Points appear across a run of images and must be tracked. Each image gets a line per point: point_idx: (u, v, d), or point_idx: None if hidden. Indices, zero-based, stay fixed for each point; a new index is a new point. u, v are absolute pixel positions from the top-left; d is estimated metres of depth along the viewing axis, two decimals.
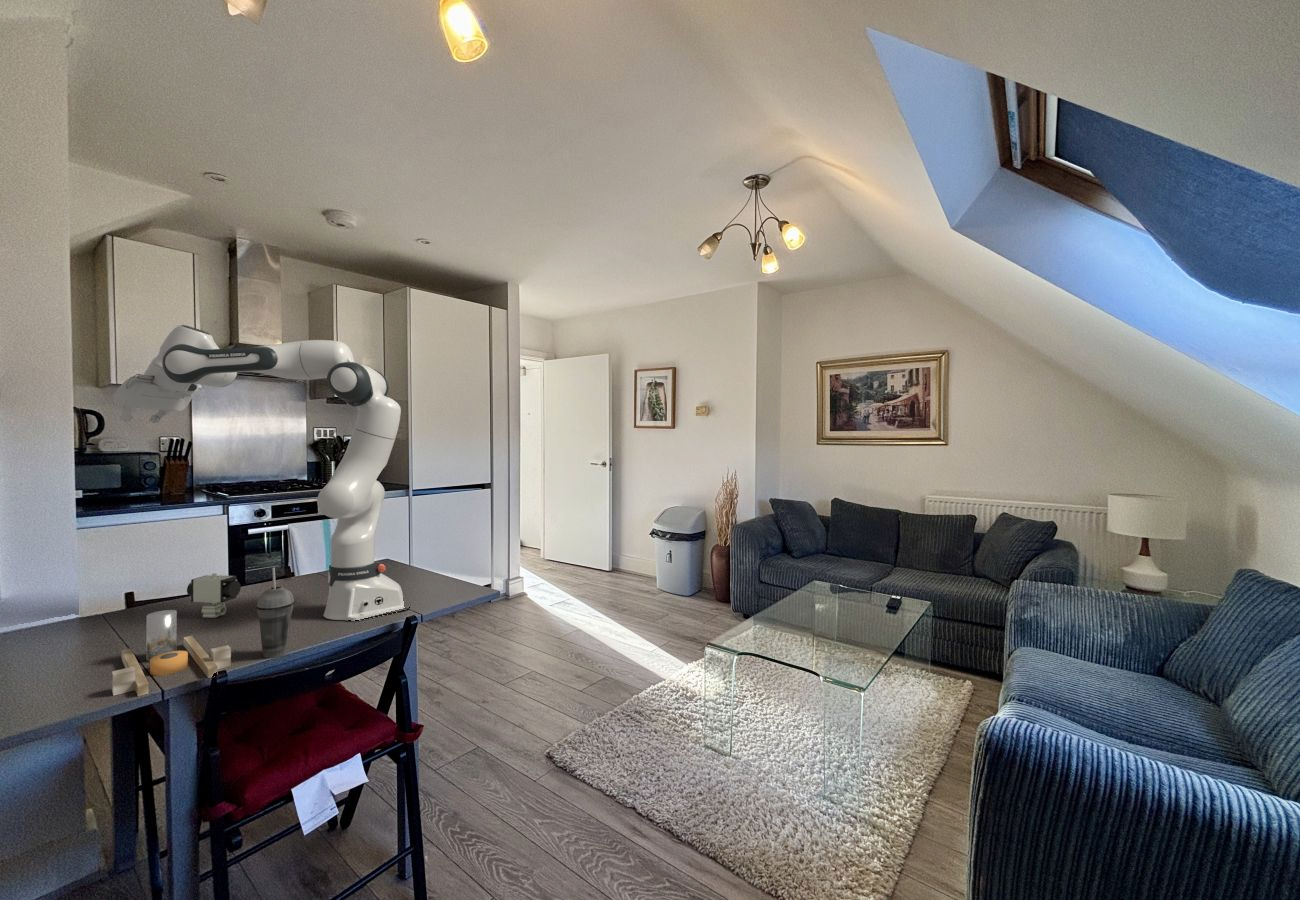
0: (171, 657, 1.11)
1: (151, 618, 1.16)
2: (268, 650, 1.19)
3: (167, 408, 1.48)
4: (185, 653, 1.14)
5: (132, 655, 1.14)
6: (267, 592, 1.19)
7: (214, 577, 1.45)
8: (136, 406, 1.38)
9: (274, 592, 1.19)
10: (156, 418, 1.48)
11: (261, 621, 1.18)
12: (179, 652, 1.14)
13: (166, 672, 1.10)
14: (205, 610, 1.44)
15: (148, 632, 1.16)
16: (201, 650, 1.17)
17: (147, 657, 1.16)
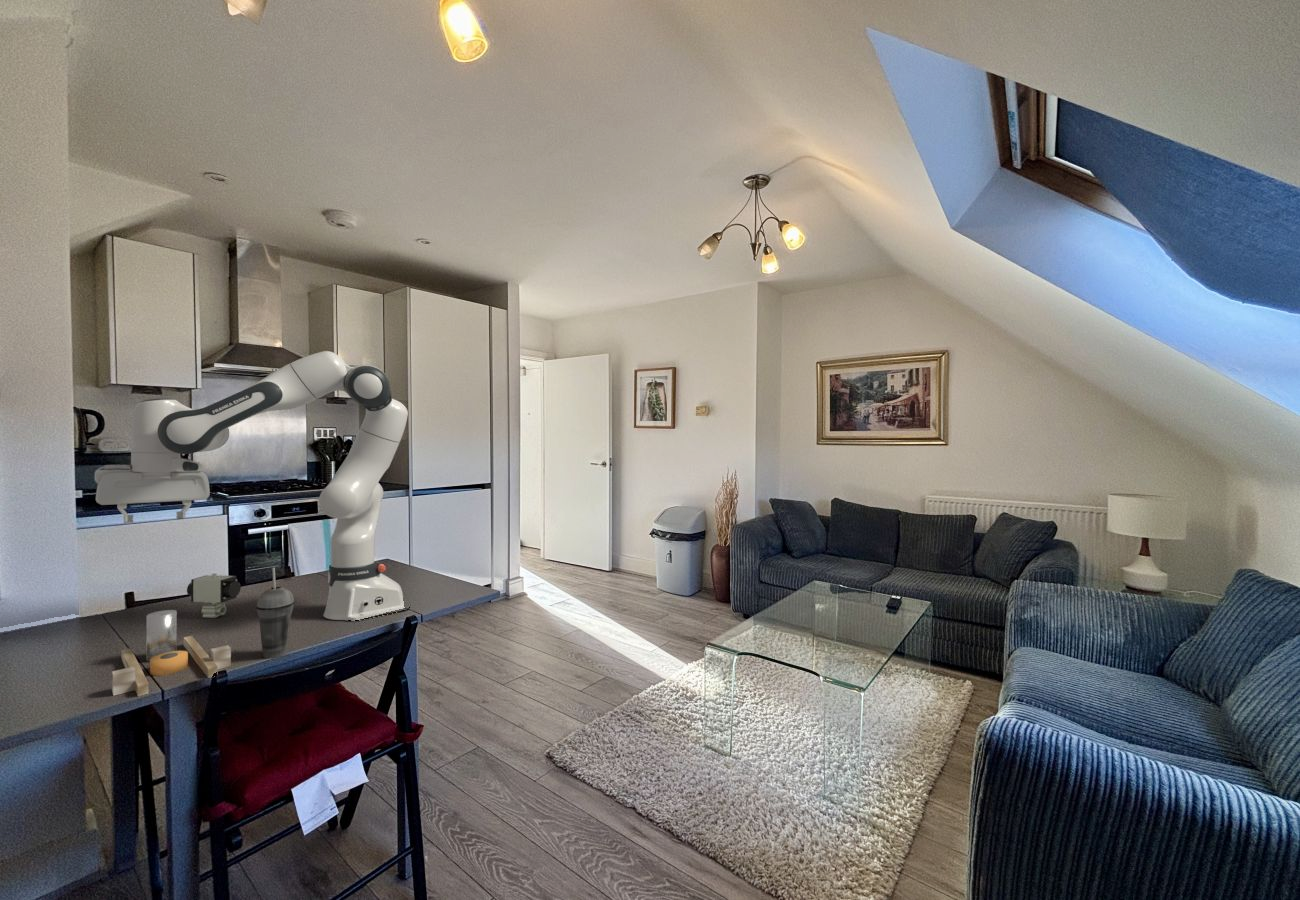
0: (171, 657, 1.11)
1: (151, 618, 1.16)
2: (268, 650, 1.19)
3: (177, 498, 1.30)
4: (185, 653, 1.14)
5: (132, 655, 1.14)
6: (267, 592, 1.19)
7: (214, 577, 1.45)
8: (120, 501, 1.22)
9: (274, 592, 1.19)
10: (177, 513, 1.31)
11: (261, 621, 1.18)
12: (179, 652, 1.14)
13: (166, 672, 1.10)
14: (205, 610, 1.44)
15: (148, 632, 1.16)
16: (201, 650, 1.17)
17: (147, 657, 1.16)
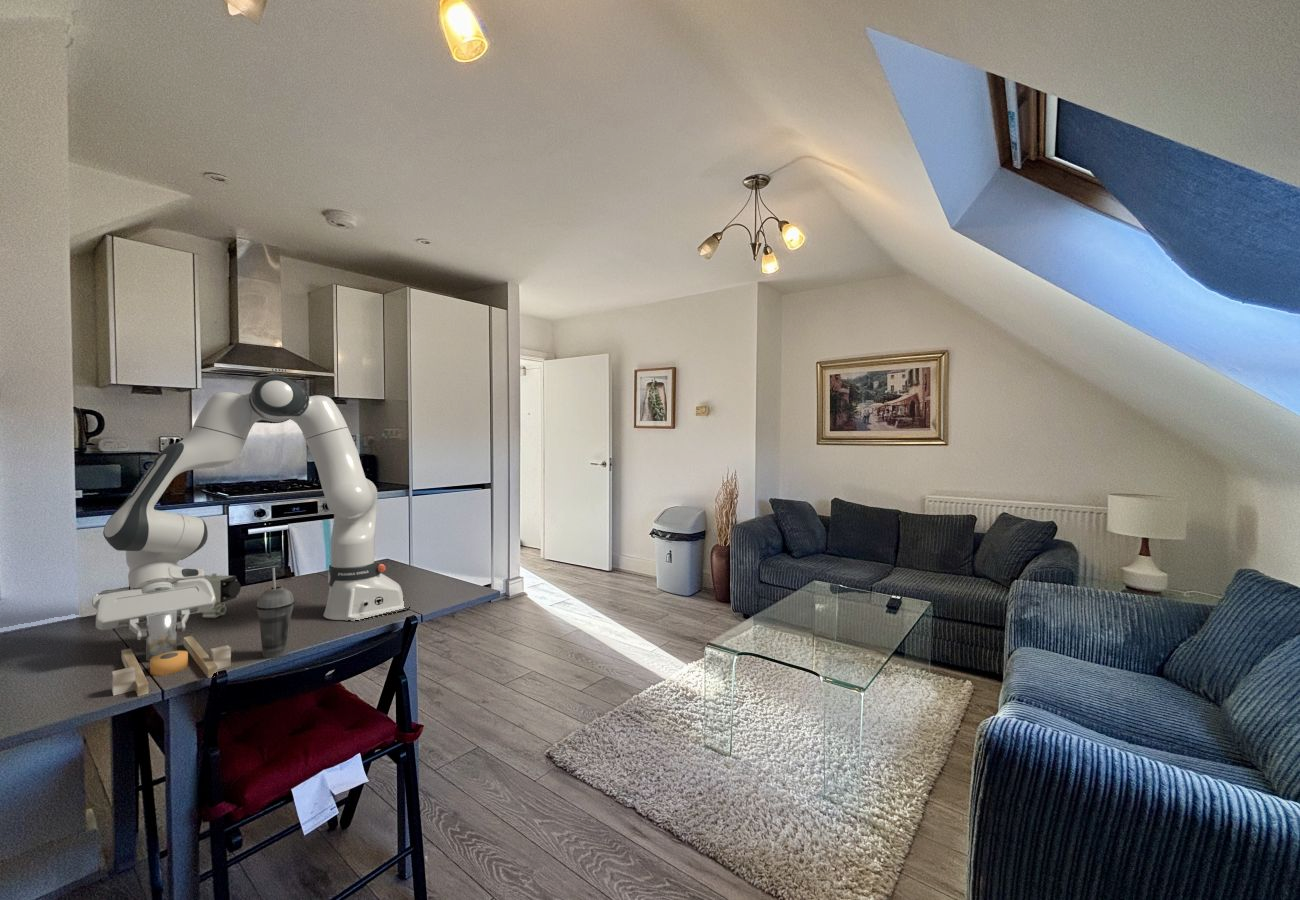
0: (171, 657, 1.11)
1: (151, 618, 1.16)
2: (268, 650, 1.19)
3: (182, 605, 1.22)
4: (185, 653, 1.14)
5: (132, 655, 1.14)
6: (267, 592, 1.19)
7: (214, 577, 1.45)
8: (121, 616, 1.15)
9: (274, 592, 1.19)
10: None
11: (261, 621, 1.18)
12: (179, 652, 1.14)
13: (166, 672, 1.10)
14: None
15: (148, 632, 1.16)
16: (201, 650, 1.17)
17: (147, 657, 1.16)
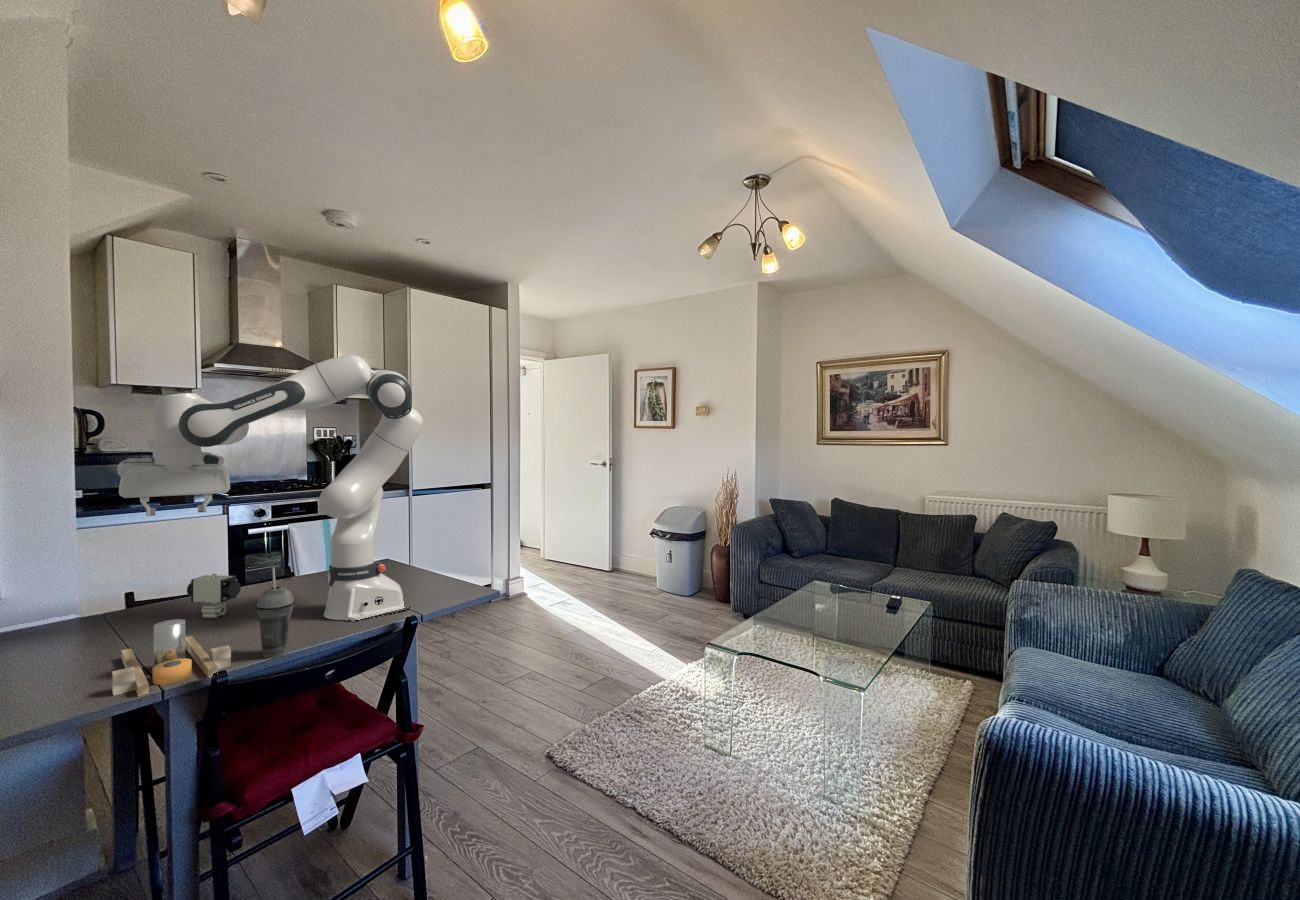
0: (174, 665, 1.07)
1: (159, 628, 1.10)
2: (268, 650, 1.19)
3: (198, 491, 1.30)
4: (189, 661, 1.10)
5: (132, 655, 1.14)
6: (267, 592, 1.19)
7: (214, 577, 1.45)
8: (143, 494, 1.23)
9: (274, 592, 1.19)
10: (199, 506, 1.31)
11: (261, 621, 1.18)
12: (183, 660, 1.10)
13: (169, 681, 1.06)
14: (205, 610, 1.44)
15: (155, 643, 1.10)
16: (201, 650, 1.17)
17: None
